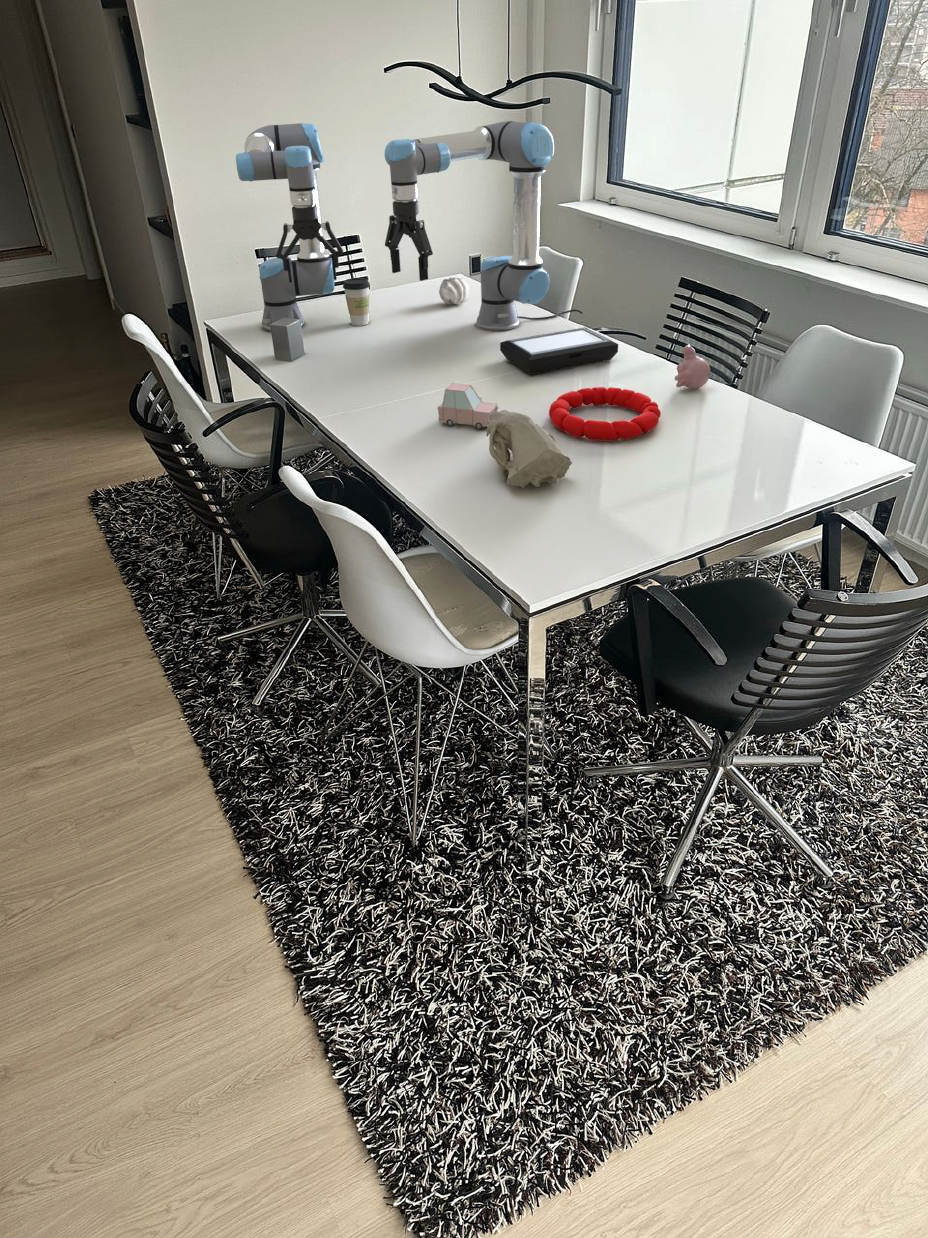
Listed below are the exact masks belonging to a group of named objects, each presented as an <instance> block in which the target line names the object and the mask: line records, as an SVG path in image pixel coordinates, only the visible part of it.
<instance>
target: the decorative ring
mask: <svg viewBox="0 0 928 1238" xmlns="http://www.w3.org/2000/svg"><path fill="white" fill-rule="evenodd" d="M583 405H584V406H586V407H587V406H591V405H593V406H604V405H608V406H614V407H619V408H624V409H628V410H632V411H635V412H636V413H638V414H639V415H637V416H635V417H632V418H631V419H630V420H625V419H624V420H623V419H622V420H614V421H611V422H609V421H607V420H606V421H605V420H593V419H587V420H586V421H585V419H584V418H582V417H579V416H577V415H573V414H571V413H570V410H571V409H579V408H581V407H582V406H583ZM548 416H549V419H550V422H551V423H552V425H553V426H554V427H555V428H556V429H558V430H559V431H561V432H563V433H567V434H568V435H569V436H573V437H576V438H580V439H582V438H583V437H585V438H586V439H587V440H591V441H601V442H602V441H603V442H608V441H609V442H610V441H611V442H612V441H615V442H616V441H618V440H630V439H634V438H638V437H641V436H642V434H647V433H650V432H651V431H653V430H654V429H655V428H656V427H657V426H658V424H659V422H660V421H659V420H660V417H661V410H660V408H659V405H658V403H657V402H656V401H652V399H651V397H649V396H648V395H646V394H644V393H642V392H635V391H634V390H632V389H628V388H624V389H622V388H620V387H613V386H612V387H611V386H610V387H608V388H606V387H604V386H594V387H585V388H584V387H583V388H580V389H578V390H571V391H568V392H565V393H563V394H561V395H560V396H558V397H557V398H556V400H554V401H552V403H551V404H550V407H549V409H548Z"/></svg>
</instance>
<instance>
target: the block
mask: <svg viewBox="0 0 928 1238" xmlns="http://www.w3.org/2000/svg"><path fill="white" fill-rule="evenodd" d="M270 329H271V332H270V334H271V342H272V348H273V354H274V360H276V361H285V362H293V361H295V360H297V359H299V358H300V357H302V356H304V355H305V345H304V337H303V330H302V328H301V322H300V319H293V318H282V319H280V320H278V321H276V322H274V323H272V324H270Z"/></svg>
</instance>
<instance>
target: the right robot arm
mask: <svg viewBox="0 0 928 1238" xmlns="http://www.w3.org/2000/svg"><path fill="white" fill-rule="evenodd" d="M554 153H555V142H554V137H553V135H552V132H551V131H550V130H549V129H548V127H547V126H546V125H543V124H540V123H537V122H532V121H531V122H530V121H514V120H505V121H500V122H496V123H491V124H490V123H489V124H485V125H480V126H476V128H475V129H474V130H470V131H463V132H457V133H449V134H442V135H435V136H427V137H420V138H415V139H409V138H403V139H402V138H401V139H393V140H390V141H388V143H387V144H386V146H385V148H384V160H385V163H387V165H388V166H389V173H390V184H391V198H392V200H393V201H392V214H393V215H389V217H388V227H387V232H386V236H385V241H384V246H385V248H388V250H389V255H390V256H389V257H390V262H391V273H392V274H396V273H397V274H398V273H400V272H401V271H402V270H401V257H400V256H401V255H400V249H399V248H400V247H399V245H400V242H401V241H402V238H403V236H404V235H406V236H408V237H409V238H410V239H411V241H412V243H413V245H414V247H415V249H416V251H417V253H418V255H419V256H418V257H417V258H418V259H417V260H418V275H419V276H418V277H419V281H420V282H422V281H426V280H429V257H430V256H433V255H434V253H433V249H432V246H431V242H430V240H429V237H428V234H427V230H426V226H425V220H424V219H420V220H417V219H418V218H417V216H418V214H419V213H420V209H419V201H418V200H417V199H418V198H419V192H418V191H419V189H418V188H419V187H418V176H422V175H428V174H435V173H437V174H438V173H440V172H443V171H446V170H447V169H449V167H450V165H451V162H458V161H464V160H471V159H478V160H480V161H487V160H488V161H489V160H490V161H491V160H492V161H499V162H505V163H509V164H508V172H509V173H510V174H511V175H512V176H513V209H512V210H513V214H512V215H513V217H512V218H513V219H512V230H513V231H512V255H499V256H493V257H488V258H485V259H483V260H482V261H481V262H480V263H481V264H480V296H481V302H480V303H481V304H480V308H479V312H478V316H477V318H476V326H477V327H478V329H481V330H485V331H490V332H502V331H510V330H513V329H516V328H518V327H519V326H520V319H522V320H529V321H534V320H536V321H538V320H548V319H553V318H556V317H557V316H561V315H564V314H568V313H569V314H570V313H572V312H577V313H579V314H580V315H583V314H584V313H583V311H581V310H579V309H575V308H574V309H569V310H565V311H560V312H558V313H555V314H553V315H549V316H544V317H543V316H541V317H529V316H528V317H527V316H519V315H518V311H517V307H516V304H515V302H518V303H521V304H523V305H536V304H538V303H539V302H541V301H542V300H543V299H544V297H545V296H546V295H547V292H548V290H549V287H550V276H549V274H548V272H547V271H546V270H545V269H543V268H544V260H543V259H542V258H541V257H540V255H539V254H540V253H539V252H540V217H541V216H540V215H541V213H540V211H541V182H542V181H541V180H542V179H541V177H542V176H543V175H544V173H545V172H546V168H547V167H546V166H547V165H549V164H550V162H551V161H552V158H553V156H554Z"/></svg>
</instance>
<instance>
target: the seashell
mask: <svg viewBox="0 0 928 1238" xmlns="http://www.w3.org/2000/svg"><path fill="white" fill-rule="evenodd" d="M438 294H439V297H440V299H441V300H442V302H443V303H445V304H447V305H459V304H462V303H464V302H465V301H466V299H467V298H468V296H469V295H470V286H469V284H468V283H467V281H466V280H464V279H463V278H462V277H461V278H460V277H449V278H445V279H443V280H442V282H441V283H440V285H439V289H438Z"/></svg>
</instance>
